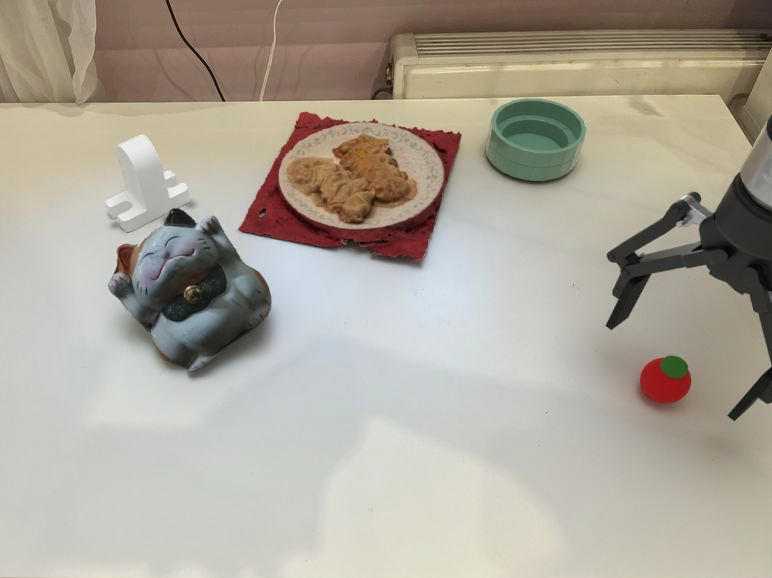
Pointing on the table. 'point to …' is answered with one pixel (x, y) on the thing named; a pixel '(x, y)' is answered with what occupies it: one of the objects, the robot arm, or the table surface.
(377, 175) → the plate with food
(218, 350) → the lucky cat figurine
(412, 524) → the table surface
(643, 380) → the tomato
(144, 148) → the cable organizer
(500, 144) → the bowl
